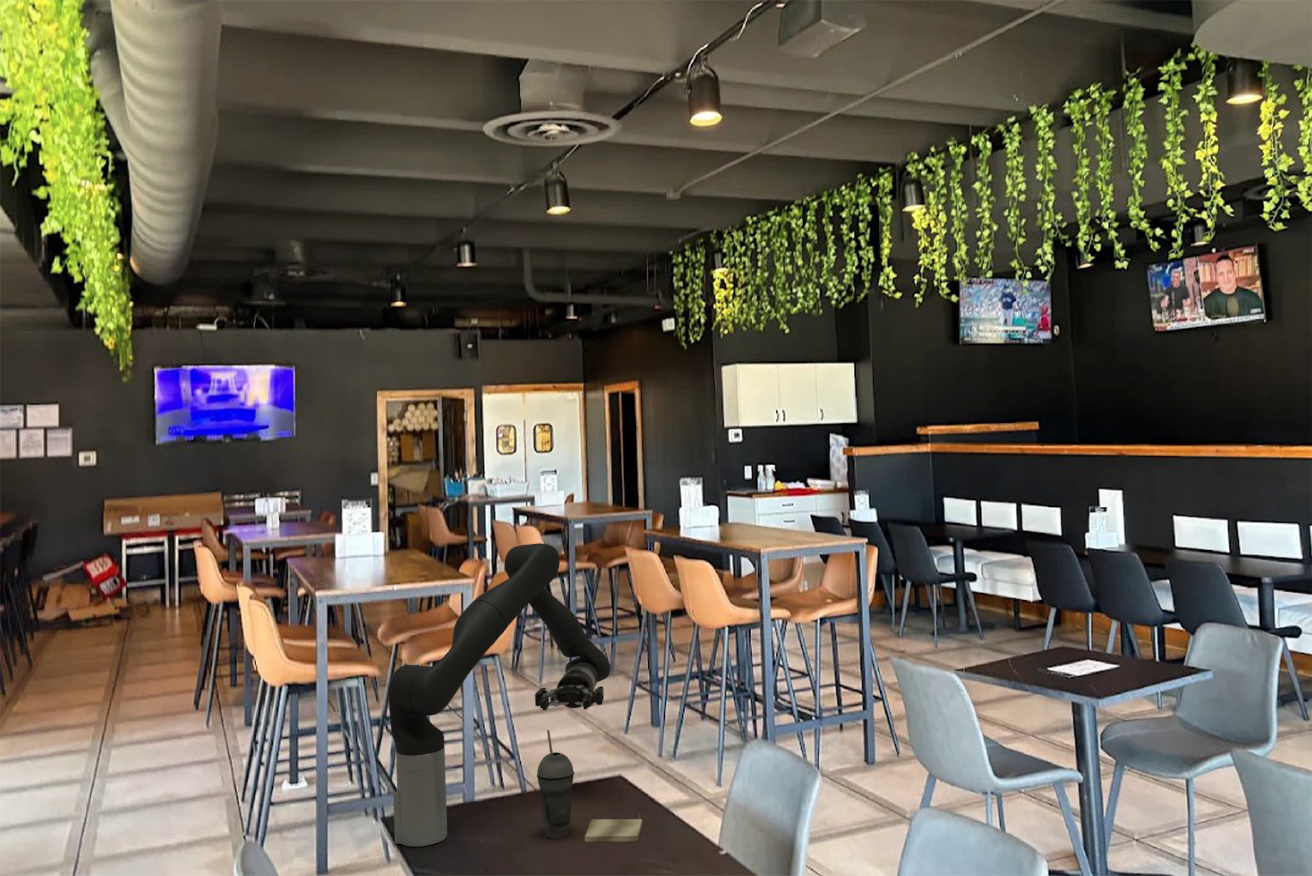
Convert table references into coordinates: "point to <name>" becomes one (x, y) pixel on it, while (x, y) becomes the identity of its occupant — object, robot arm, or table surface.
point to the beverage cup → (555, 792)
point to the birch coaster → (613, 830)
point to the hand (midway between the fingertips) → (564, 705)
